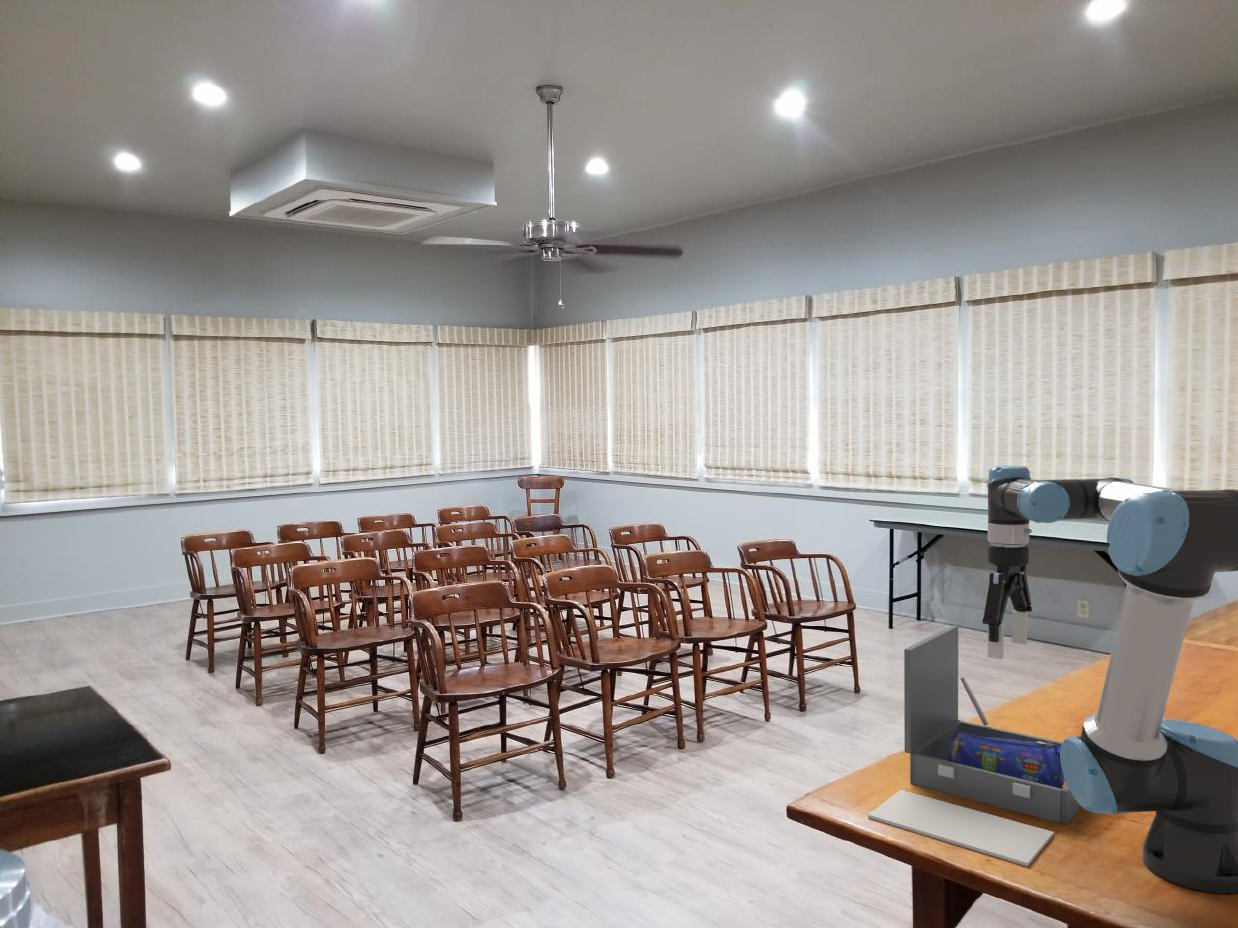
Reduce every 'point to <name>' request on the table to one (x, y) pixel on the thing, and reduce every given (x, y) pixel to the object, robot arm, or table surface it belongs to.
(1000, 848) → the grey mat
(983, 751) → the pencil case
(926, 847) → the table surface
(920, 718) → the case
